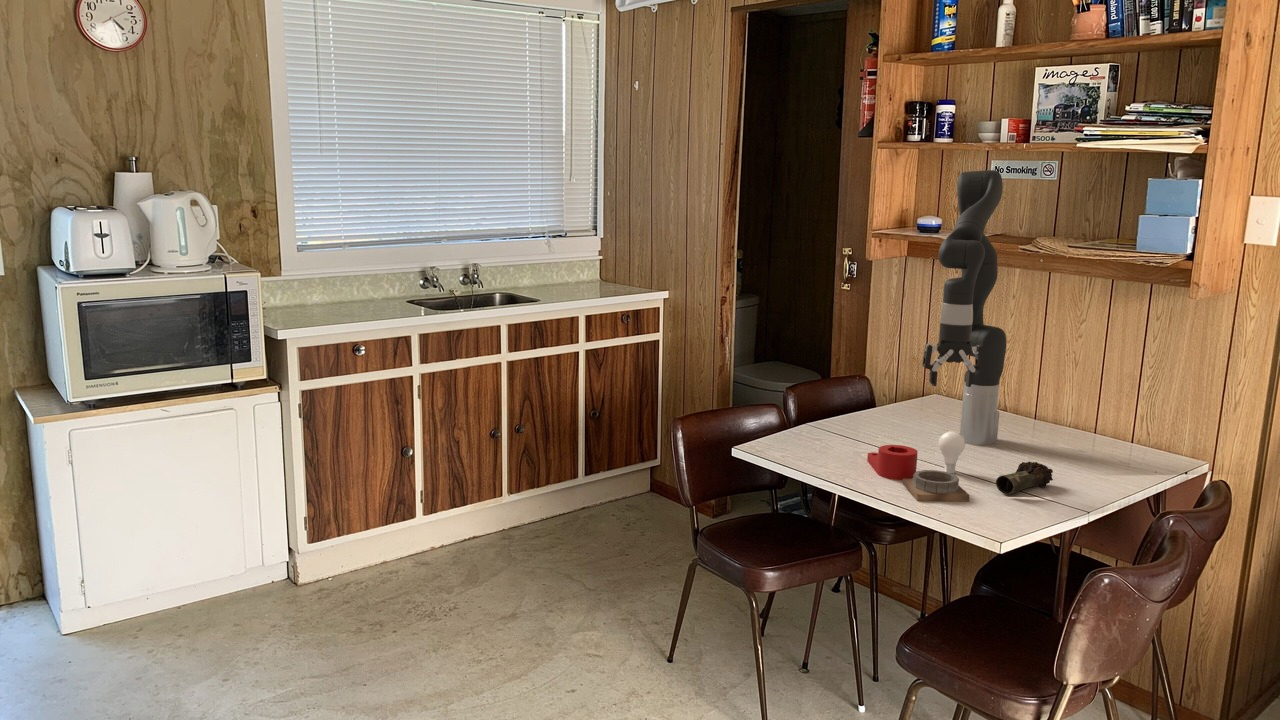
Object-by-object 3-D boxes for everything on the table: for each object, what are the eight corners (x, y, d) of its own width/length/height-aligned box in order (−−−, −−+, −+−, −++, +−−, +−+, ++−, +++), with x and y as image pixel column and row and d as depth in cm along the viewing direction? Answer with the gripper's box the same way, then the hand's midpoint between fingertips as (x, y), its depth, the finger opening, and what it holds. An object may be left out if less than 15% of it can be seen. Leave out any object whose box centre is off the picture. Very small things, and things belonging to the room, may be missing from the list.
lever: (923, 480, 239) (924, 454, 237) (888, 482, 236) (890, 456, 235) (886, 459, 256) (888, 435, 254) (854, 461, 253) (856, 437, 252)
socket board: (951, 484, 235) (952, 469, 234) (968, 501, 223) (970, 484, 222) (902, 484, 234) (903, 468, 234) (917, 500, 223) (918, 484, 222)
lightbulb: (965, 478, 240) (969, 435, 238) (940, 477, 240) (943, 434, 238) (958, 470, 246) (961, 428, 244) (933, 469, 247) (936, 428, 245)
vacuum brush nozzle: (1012, 497, 224) (1015, 474, 223) (987, 488, 230) (990, 466, 229) (1055, 486, 234) (1059, 464, 233) (1030, 479, 240) (1034, 457, 239)
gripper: (980, 320, 241) (974, 383, 244) (922, 318, 241) (918, 382, 244) (990, 324, 233) (984, 390, 236) (931, 323, 234) (926, 388, 236)
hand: (950, 386), depth 240 cm, fingers open, 8 cm apart
